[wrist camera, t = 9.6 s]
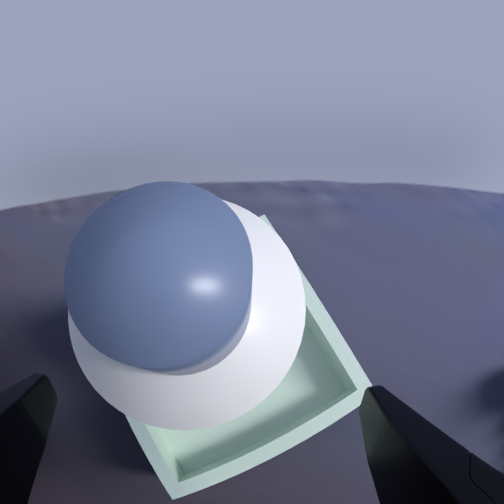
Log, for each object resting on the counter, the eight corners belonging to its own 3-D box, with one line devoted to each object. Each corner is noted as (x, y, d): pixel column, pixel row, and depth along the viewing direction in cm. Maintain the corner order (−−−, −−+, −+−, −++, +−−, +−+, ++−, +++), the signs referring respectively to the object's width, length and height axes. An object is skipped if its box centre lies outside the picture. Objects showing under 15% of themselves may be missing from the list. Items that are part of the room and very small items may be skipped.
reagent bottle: (226, 423, 16) (163, 514, 3) (158, 362, 17) (-19, 274, 4) (287, 354, 17) (390, 247, 5) (218, 298, 19) (167, 103, 6)
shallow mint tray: (187, 479, 16) (172, 499, 12) (110, 321, 20) (82, 303, 16) (350, 394, 19) (376, 393, 15) (261, 247, 23) (264, 214, 19)
